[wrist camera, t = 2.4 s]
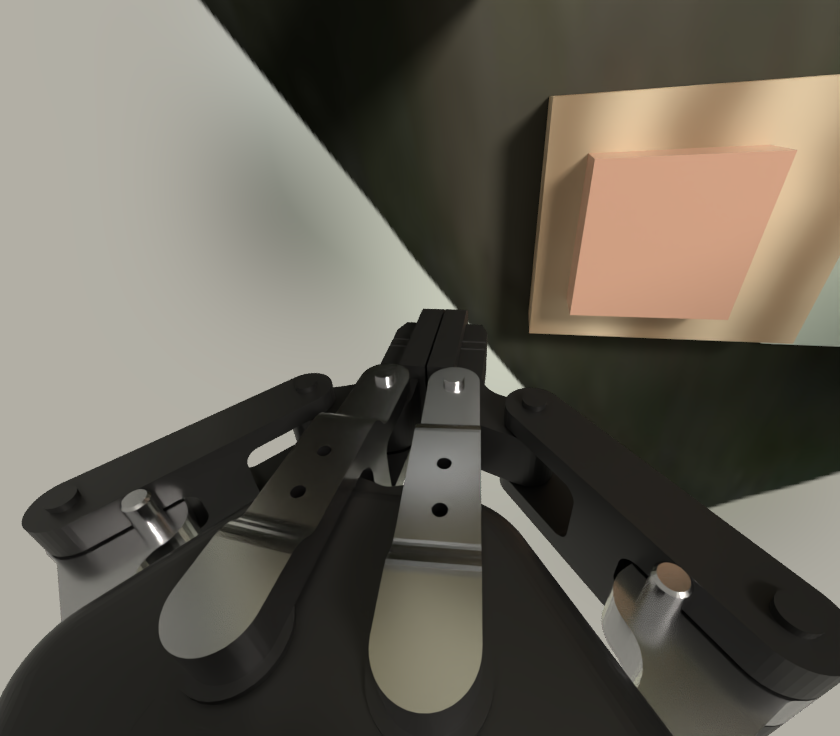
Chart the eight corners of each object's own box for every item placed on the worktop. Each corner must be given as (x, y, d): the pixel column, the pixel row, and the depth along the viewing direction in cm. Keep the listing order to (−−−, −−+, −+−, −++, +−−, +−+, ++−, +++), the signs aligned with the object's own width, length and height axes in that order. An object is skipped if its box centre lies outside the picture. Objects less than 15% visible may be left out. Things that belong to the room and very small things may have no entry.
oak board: (885, 70, 18) (940, 67, 16) (767, 320, 26) (792, 343, 23) (549, 96, 22) (553, 96, 19) (528, 313, 29) (529, 333, 26)
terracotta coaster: (770, 144, 18) (797, 149, 17) (711, 302, 23) (727, 319, 21) (588, 153, 20) (595, 158, 18) (566, 299, 25) (569, 315, 23)
